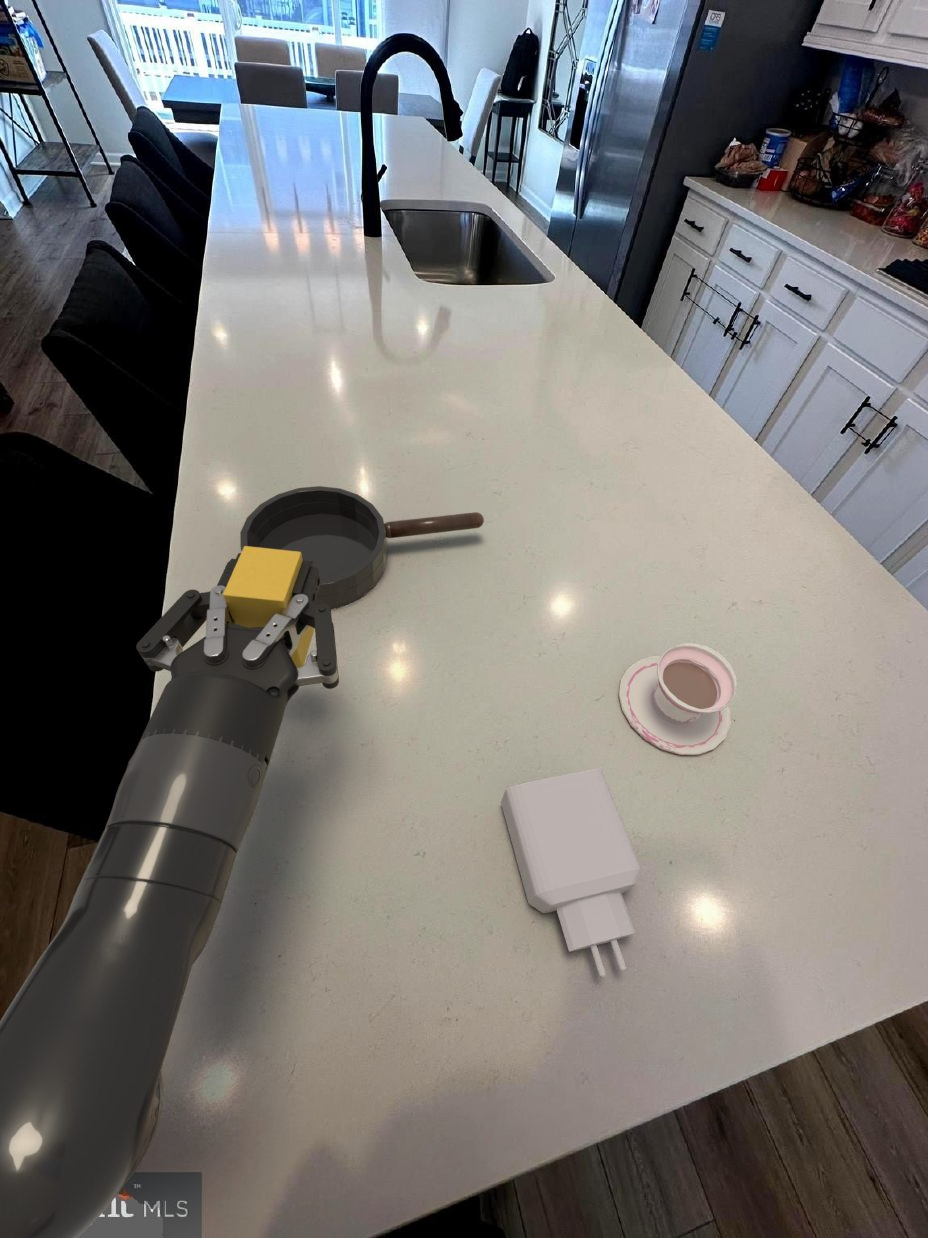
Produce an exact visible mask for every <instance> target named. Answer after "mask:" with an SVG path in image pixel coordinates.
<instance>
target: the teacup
mask: <svg viewBox="0 0 928 1238" xmlns="http://www.w3.org/2000/svg"><path fill="white" fill-rule="evenodd" d="M619 681H620V682H619V690H618V699H619V702H620V707H621V711H622V713H623V715H624V716H625V718H626V720H627V721H628V722H629V725H630V726H631V728H633V730H634V731H635V732H637V734H639V735H640V737H641V738H642V739H644V740H645V741H646V742H648V743H650V744H652V745H653V746H654V747H656V748H658V749H660V750H662V751H665V752H669V753H671V754H675V755H679V756H699V755H702V754H706V753H708V752H711V751H714V749H716V748H717V747H718V746H719V745H720V744H721V743H722V742H723V741H724V740H725V739H726V737H727V735H728V733H729V730H730V728H731V726H732V725H731V724H732V723H731V708H730V706H729V705H730V704H731V703H732V702H733V700H734V699H735V697H736V694H737V688H738V682H737V681H738V680H737V677H736V673H735V671H734V669H733V667H732V665H731V663H730V662H729V661H728V660H727V658H725V657H724V656H723V655H722V654H721V653H720V652H718V651H717V650H715V649H713V648H711V647H710V646H707V645H704V644H701V643H695V642H686V643H679V644H676V645H673V646H671V647H670V648H668V649H666V650H665V651H664V652H663V653H662V654H661V655H652V656H647V657H644V658H641V659H638V660H637V661H636V662H634V663H633V664H631V665H630V666H629V667H627V669H626V671H625V672H624V674H623V676H622V677H621V679H620V680H619Z"/></svg>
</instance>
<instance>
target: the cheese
mask: <svg viewBox="0 0 928 1238" xmlns="http://www.w3.org/2000/svg"><path fill="white" fill-rule="evenodd" d="M240 553H241V555H240V557H239V559H238V561H237V564H236V566H235V568H234V570H233V573H232V575H231V577H230V579H229V582H228V584H227V586H226V588H225V591H224V593H223V597H224V599H225V602H227V603H228V605H229V612H230V614H231V616H232V618H233V619H234V620H235V624H238V625H241V626H244V627H247V628H252V627H265V626H266V625H267V623H268V622H269V621H270V620H271V618H272V617H273V616H274V615H275V614H276V613H281V612H282V610H283V609H284V608H286V606H287V604H288V603H289V602H290V600H291V599H292V598H293V595H292V590H293V588H294V585H295V582H296V579H297V576H298V573H299V570H300V567H301V564H302V561H303V559H302V554H301V552H297V551H287V550H278V549H268V548H259V547H249V546H244V548H243V550H242V552H241V551H240ZM314 633H315V628H313V627H310V626H309V627H308V628H307V630H306V631H305V632H304V634H303V635H302V636H301V638H300V641H299V645H298V647H297V649H296V650H295V651H294V653H293V654H292V655H291V658H292V660H293V662H294V664H295V665H296V667H297V668H300V667H302V666H303V665H304V664H305V663H306V659H307V656H308V653H309V649H310V645H311V642H312V639H313V635H314Z"/></svg>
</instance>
